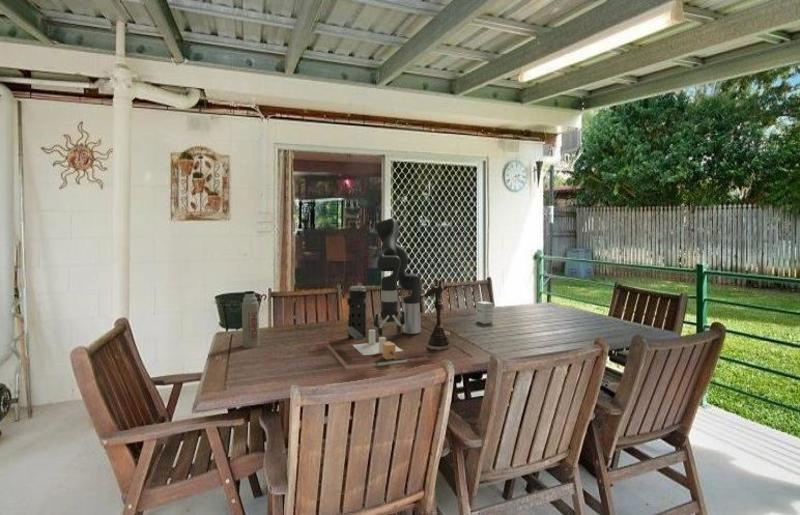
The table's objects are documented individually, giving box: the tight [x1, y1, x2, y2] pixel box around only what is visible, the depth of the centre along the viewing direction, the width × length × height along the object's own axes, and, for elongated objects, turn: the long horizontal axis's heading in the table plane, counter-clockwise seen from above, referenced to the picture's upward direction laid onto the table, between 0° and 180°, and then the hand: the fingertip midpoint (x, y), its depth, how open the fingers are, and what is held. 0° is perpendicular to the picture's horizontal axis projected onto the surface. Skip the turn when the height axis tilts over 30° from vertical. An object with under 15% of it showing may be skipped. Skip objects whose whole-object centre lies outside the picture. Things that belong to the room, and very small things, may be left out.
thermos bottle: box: [241, 290, 260, 349], centre depth 234 cm, size 8×8×28 cm
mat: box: [374, 358, 408, 367], centre depth 210 cm, size 14×10×1 cm
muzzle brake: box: [346, 285, 368, 340], centre depth 250 cm, size 10×28×10 cm
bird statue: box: [420, 279, 451, 351], centre depth 234 cm, size 17×13×35 cm
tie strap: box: [345, 326, 364, 341], centre depth 221 cm, size 3×19×2 cm, turn 21°
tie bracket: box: [352, 328, 404, 356], centre depth 226 cm, size 20×19×8 cm
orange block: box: [382, 341, 396, 361], centre depth 208 cm, size 4×8×7 cm, turn 21°
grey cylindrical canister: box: [476, 301, 494, 325], centre depth 288 cm, size 7×7×13 cm
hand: (389, 334), depth 209 cm, fingers open, 8 cm apart
